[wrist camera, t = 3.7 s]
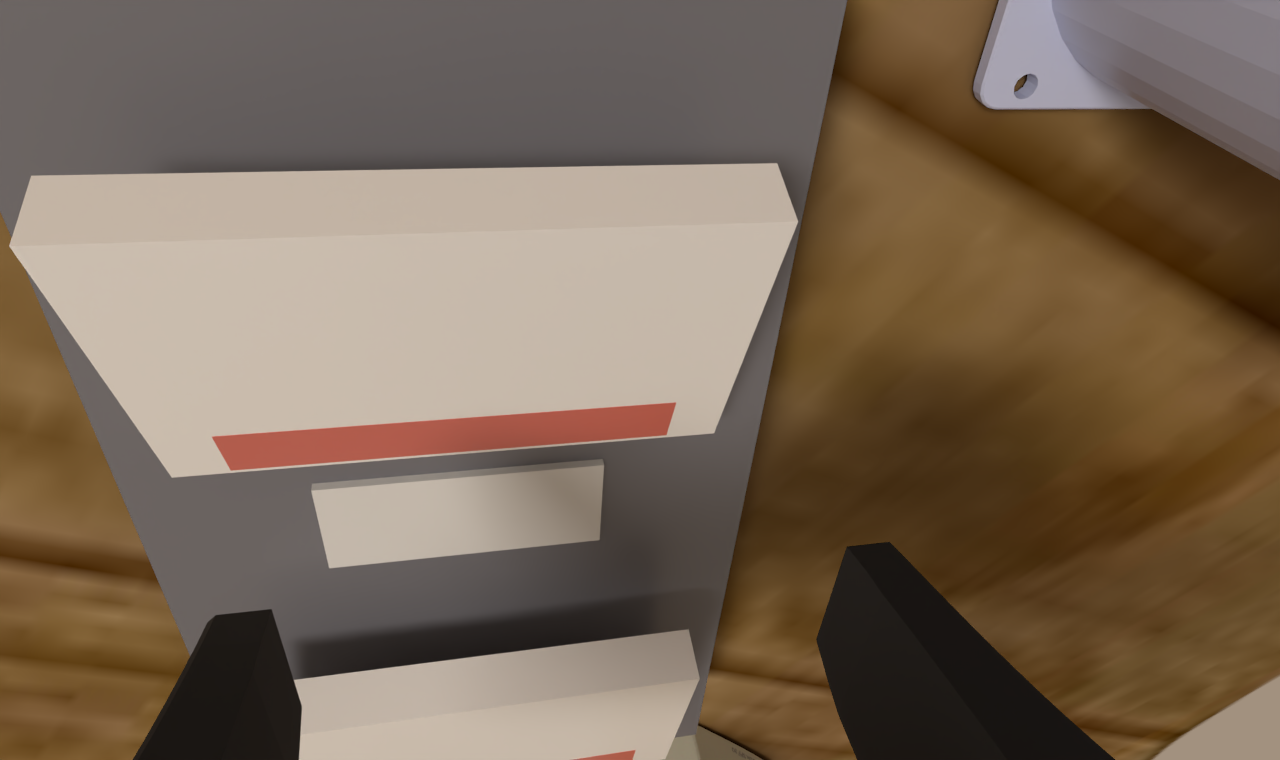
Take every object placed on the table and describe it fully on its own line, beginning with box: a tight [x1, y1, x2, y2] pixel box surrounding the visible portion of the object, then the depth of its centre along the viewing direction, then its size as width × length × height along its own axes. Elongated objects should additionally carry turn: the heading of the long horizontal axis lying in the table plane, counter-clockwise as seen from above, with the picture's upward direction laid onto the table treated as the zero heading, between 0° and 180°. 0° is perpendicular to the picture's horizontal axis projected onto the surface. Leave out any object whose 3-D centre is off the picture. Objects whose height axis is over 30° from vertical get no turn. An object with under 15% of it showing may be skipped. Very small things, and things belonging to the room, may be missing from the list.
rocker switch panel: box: [0, 0, 847, 738], centre depth 20 cm, size 13×22×3 cm, turn 176°
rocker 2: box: [294, 629, 700, 760], centre depth 21 cm, size 10×6×1 cm, turn 86°
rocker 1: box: [9, 163, 798, 478], centre depth 14 cm, size 10×6×1 cm, turn 86°
